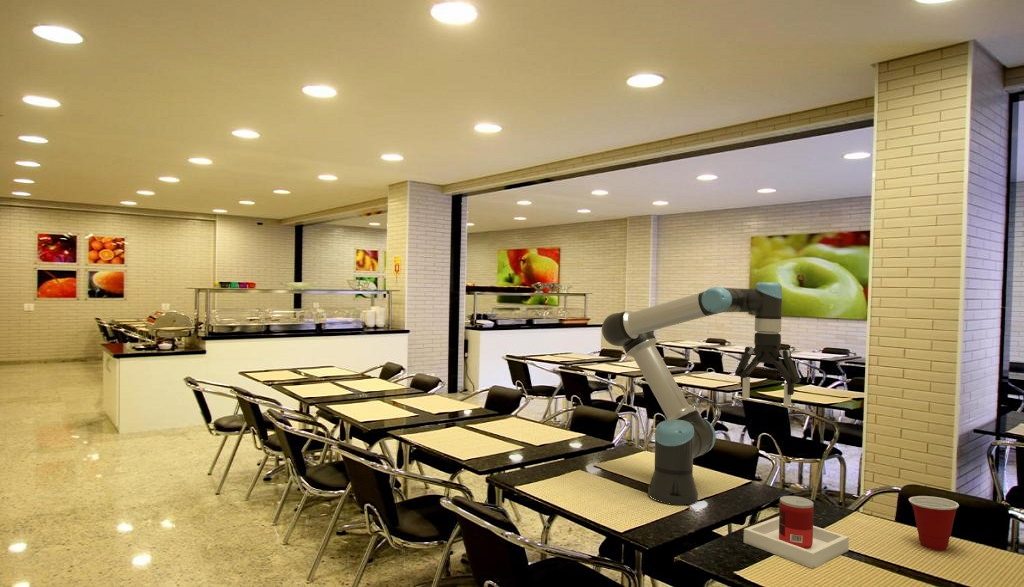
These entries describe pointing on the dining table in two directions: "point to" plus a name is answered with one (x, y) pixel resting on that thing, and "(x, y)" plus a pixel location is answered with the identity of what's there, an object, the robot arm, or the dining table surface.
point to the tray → (819, 553)
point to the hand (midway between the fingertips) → (765, 402)
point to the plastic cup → (934, 520)
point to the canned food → (796, 521)
